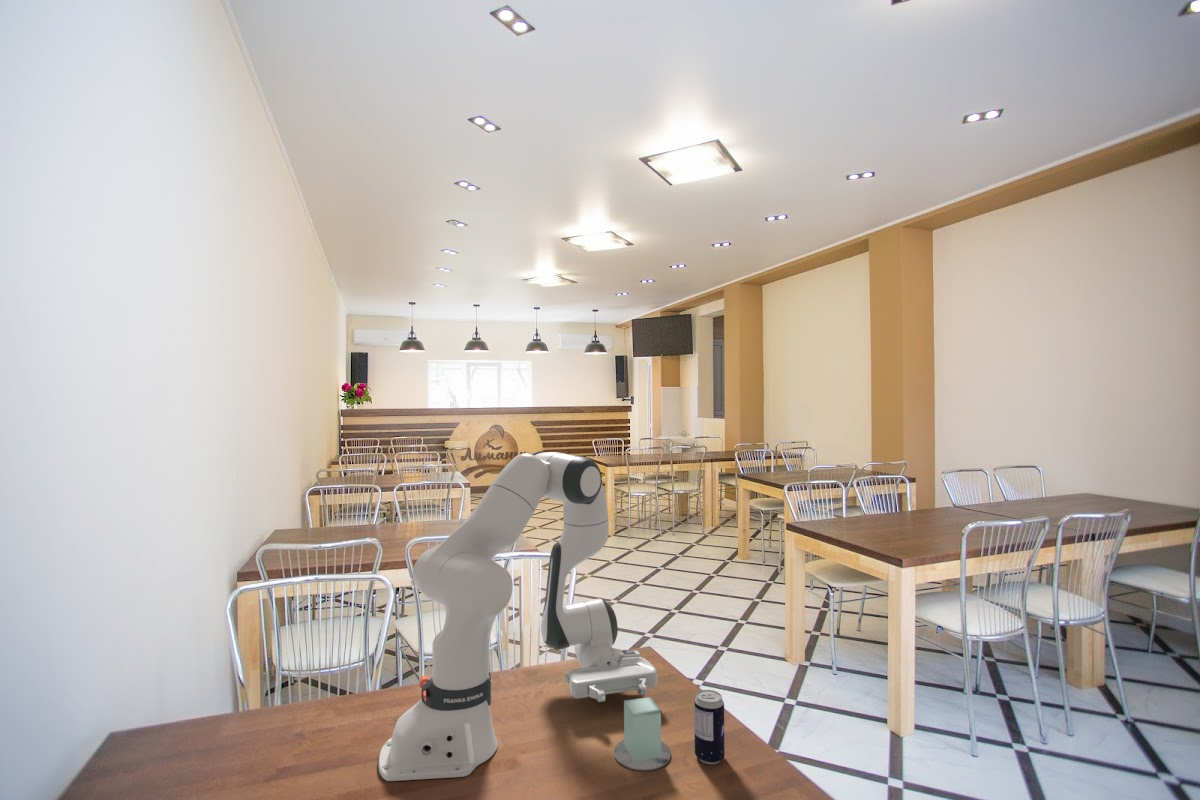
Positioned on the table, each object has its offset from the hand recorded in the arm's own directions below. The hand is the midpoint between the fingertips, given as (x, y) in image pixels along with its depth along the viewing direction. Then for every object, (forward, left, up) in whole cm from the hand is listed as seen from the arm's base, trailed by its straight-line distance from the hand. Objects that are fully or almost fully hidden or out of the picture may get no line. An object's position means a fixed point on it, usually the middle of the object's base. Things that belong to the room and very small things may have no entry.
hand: (623, 695), depth 128 cm
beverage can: (+12, -17, -6) cm, 22 cm away
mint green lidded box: (0, -12, -5) cm, 13 cm away
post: (0, -12, -6) cm, 13 cm away
